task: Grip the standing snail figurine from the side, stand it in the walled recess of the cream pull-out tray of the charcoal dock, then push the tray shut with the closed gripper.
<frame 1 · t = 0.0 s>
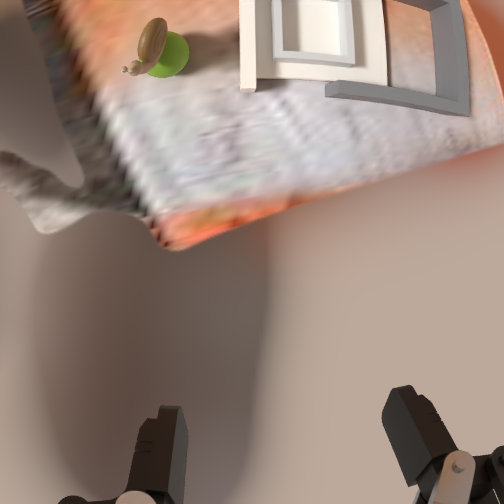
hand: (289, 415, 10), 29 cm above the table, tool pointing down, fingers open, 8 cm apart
tray: (318, 25, 27), point 2 cm above the table, slide at 8.0 cm
snail figurine: (168, 63, 30), on the table
dock: (383, 41, 30), on the table
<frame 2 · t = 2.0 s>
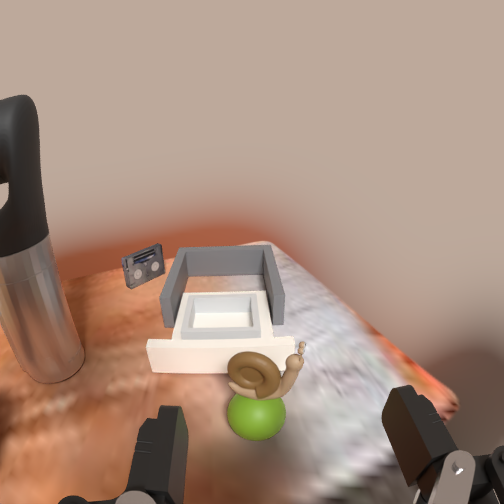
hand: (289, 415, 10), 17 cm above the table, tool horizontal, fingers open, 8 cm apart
tray: (222, 317, 42), point 2 cm above the table, slide at 8.0 cm
snail figurine: (261, 431, 28), on the table
dock: (224, 297, 51), on the table
mini dv tape: (146, 281, 57), on the table
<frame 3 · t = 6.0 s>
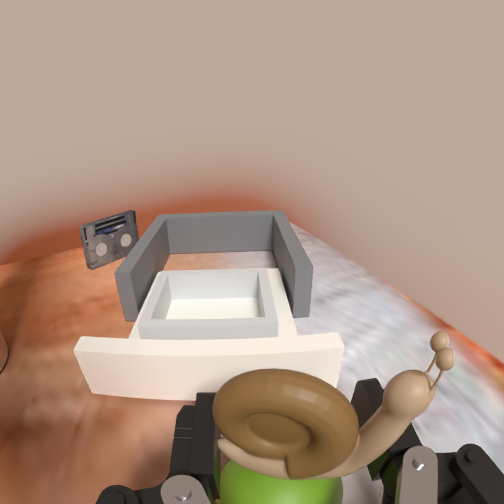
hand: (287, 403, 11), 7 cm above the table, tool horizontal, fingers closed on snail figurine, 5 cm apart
tray: (212, 305, 26), point 2 cm above the table, slide at 8.0 cm
dock: (218, 279, 35), on the table
mini dv tape: (114, 260, 41), on the table
when the fingers open (9 cm above the table, at t = 11.9 s): snail figurine drops 1 cm, resting on tray.
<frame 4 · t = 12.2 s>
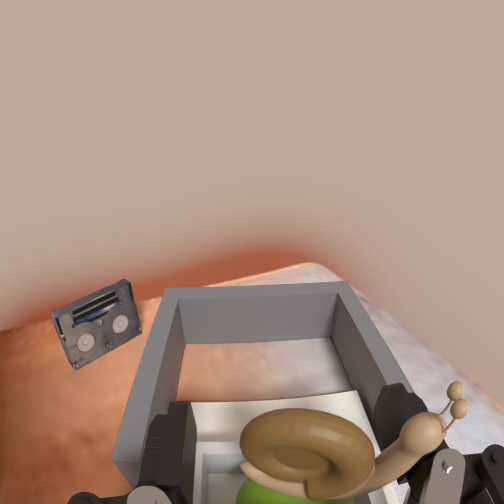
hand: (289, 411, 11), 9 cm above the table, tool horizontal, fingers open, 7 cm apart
tray: (282, 502, 12), point 2 cm above the table, slide at 8.1 cm, touching snail figurine
dock: (267, 406, 22), on the table
mini dv tape: (106, 350, 28), on the table
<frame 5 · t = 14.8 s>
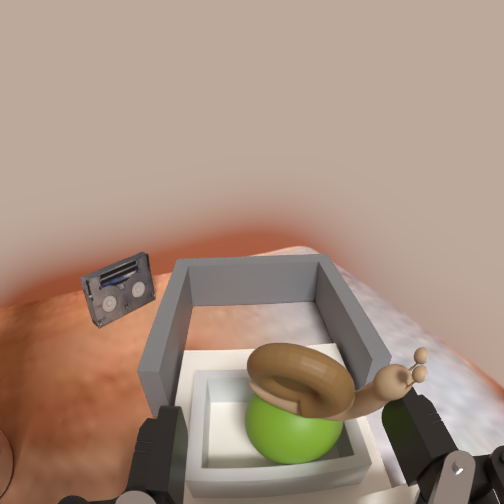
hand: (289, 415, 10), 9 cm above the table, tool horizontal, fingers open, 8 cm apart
tray: (271, 421, 18), point 2 cm above the table, slide at 9.0 cm, touching snail figurine
snail figurine: (298, 433, 17), point 2 cm above the table, touching gripper, tray
dock: (259, 349, 28), on the table
mini dv tape: (125, 312, 34), on the table
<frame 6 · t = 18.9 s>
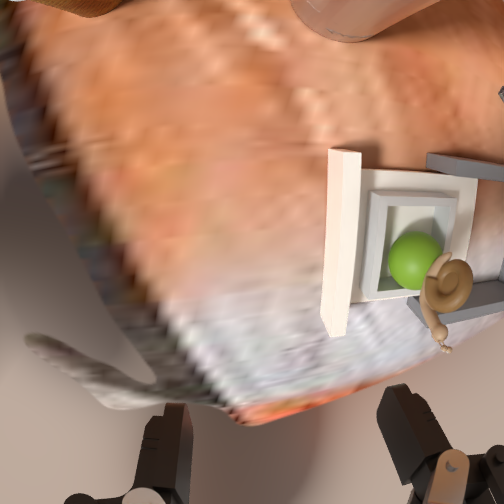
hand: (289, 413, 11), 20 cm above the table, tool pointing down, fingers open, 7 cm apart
tray: (414, 242, 27), point 2 cm above the table, slide at 8.9 cm, touching snail figurine
snail figurine: (399, 253, 29), point 1 cm above the table, touching tray
dock: (471, 232, 30), on the table
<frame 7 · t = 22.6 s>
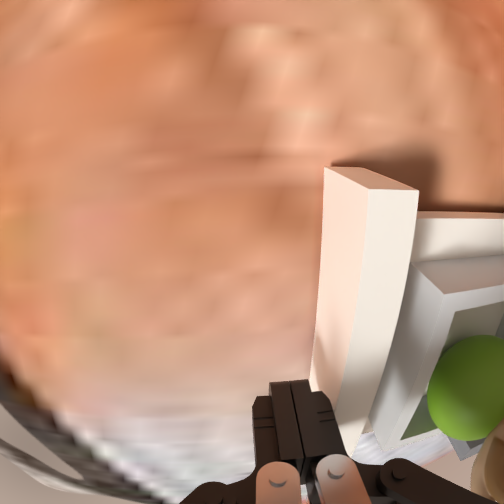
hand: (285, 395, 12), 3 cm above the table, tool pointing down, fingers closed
tray: (476, 348, 12), point 2 cm above the table, slide at 8.6 cm, touching gripper, snail figurine
snail figurine: (445, 360, 14), point 1 cm above the table, touching tray
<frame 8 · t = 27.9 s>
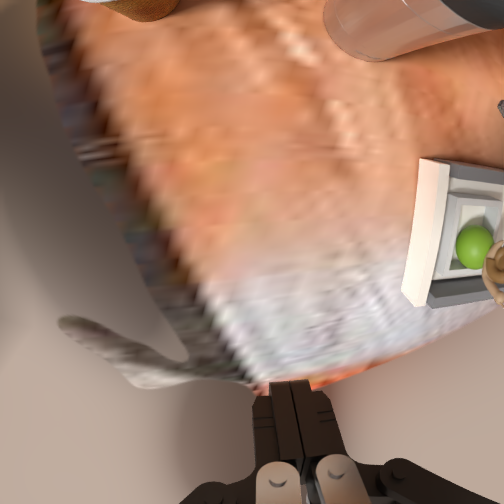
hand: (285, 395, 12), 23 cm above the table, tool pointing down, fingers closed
tray: (472, 233, 32), point 2 cm above the table, slide at 0.5 cm, touching snail figurine
snail figurine: (460, 242, 34), point 1 cm above the table, touching tray
dock: (470, 227, 34), on the table
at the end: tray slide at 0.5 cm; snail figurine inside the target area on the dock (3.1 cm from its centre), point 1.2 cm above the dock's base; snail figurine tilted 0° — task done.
